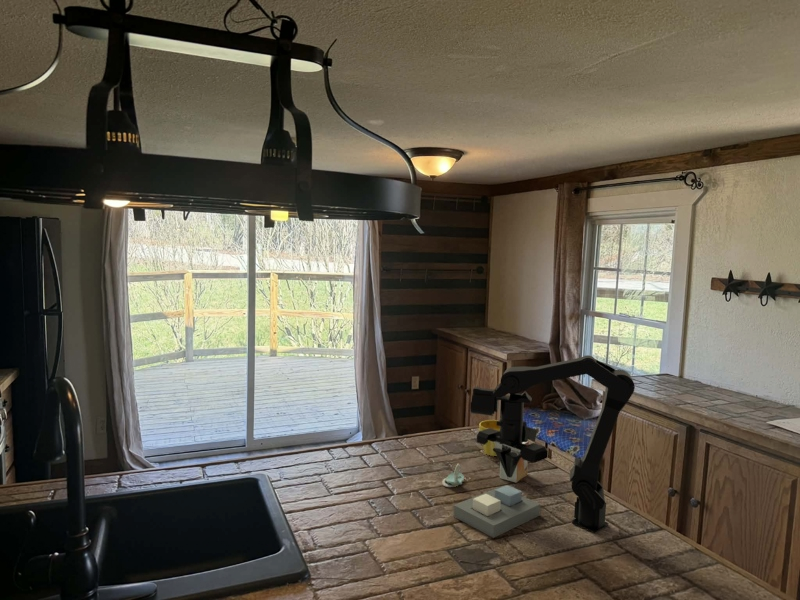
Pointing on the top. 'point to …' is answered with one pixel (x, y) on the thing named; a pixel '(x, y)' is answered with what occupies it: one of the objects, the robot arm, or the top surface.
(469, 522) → the keypad
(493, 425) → the plant pot
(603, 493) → the robot arm
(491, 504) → the cream key
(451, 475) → the pacifier
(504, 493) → the slate key
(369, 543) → the top surface
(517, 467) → the small box
